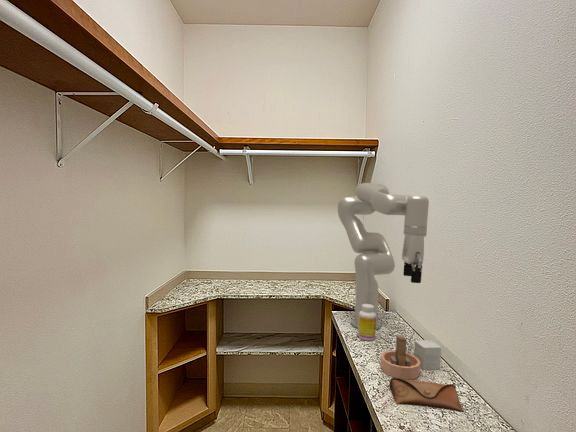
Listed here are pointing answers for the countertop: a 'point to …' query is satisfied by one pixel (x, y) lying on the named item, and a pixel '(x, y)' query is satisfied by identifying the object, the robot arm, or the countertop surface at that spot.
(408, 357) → the terracotta shallow dish
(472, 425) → the countertop surface
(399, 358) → the wooden plank
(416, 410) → the countertop surface
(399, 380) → the sunglasses case
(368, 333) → the supplement bottle
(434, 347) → the product box
